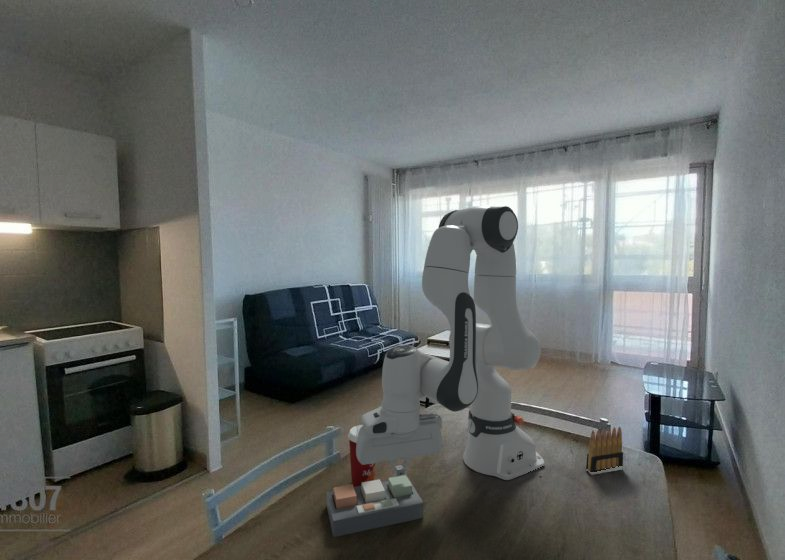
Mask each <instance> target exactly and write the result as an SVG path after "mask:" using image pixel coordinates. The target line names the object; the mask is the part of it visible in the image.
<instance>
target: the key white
mask: <svg viewBox="0 0 785 560" xmlns="http://www.w3.org/2000/svg"><path fill="white" fill-rule="evenodd" d="M381 482H382V481H381V479H374V480H373V481H368V482H362V483H361V493H362V495H363V498H364V501H365V503H370V502H375V501H380V500H385V490H384V487H383V485H382V483H381Z"/></svg>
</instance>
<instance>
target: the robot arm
mask: <svg viewBox="0 0 785 560" xmlns="http://www.w3.org/2000/svg"><path fill="white" fill-rule="evenodd" d="M518 221H519V220H518V218H517V215H516V213H515V212H514V211H513V209H512V208H511V207H510V206H507V205H502V204H491V205H476V206H471V207H468V208H463V209H454V210H453V211H449V212H447V213H446V214H445V215H444V216H443V217H442V218H441V220H440V221H439V224H438V228H437V229H435V230H434V232H433V233H432V236H431V238H430V241H429V245H428V248H427V249H426V255H425V258H424V264H423V270H422V276H421V277H422V278H421V288H422V289H421V290H422V292H423V294H424V296H425V298H426V299H427V300H428V301H429V302H430V303H431V304H432V306H434V307H435V308H437V309H438V310H439V311H440V312H441V313H442V314H443V315H444V316H445V318H446V319H447V321H448V324H449V328H450V329H449V330H450V331H449V332H450V333H449V336H448V344H449V361H448V360H446V359H442V358H440V357H437V356H434V355H432V354H431V355H430V354H427V353H424V352H422V351H420V350H419V349H418V348H417V347H416V346H413V345H410V344H404V345H397V346H396V345H395V346H394V347H392V348H390V349H388V350H387V352H386V353H385V355H384V359H383V362H382V371H381V375H382V376H381V388H382V391H383V397H382V400H381V405H380V406H379V407H377V408H375V409H372V410H370V411H368V412H365V413H364V414H362V415H361V419H360V420H361V425H363V426H362V427H361V428H360V430H359V432H358V437H357V445H356V456H357V459H358V461H359V462H360V463H361V464H362V465H365V464H372V463H375V464H377V463H383V462H384V463H385V462H388V463H389V464H390V466H391V468H392V477H399V476H404V475H406V476H408V475H407V472H408V471H407V470H408V468H409V466H410V465H411V463H412V458H416V457H423V456H429V455H435V454H436V455H437V454H439V453H441V451H442V449H443V437H442V431H441V429H442V426H443V425H442V423H443V420H442V416H441V415H439V414H437V413H436V412H431V413H421V403H420V402H421V401H420V400H421V399H422V398H423V397H424V398H426V399H430V400H431V401H434V402H436V403H438V404H439V405H441V406H442V407H444V408H446V409H447V410H449V411H451V412H460V411H462V410H465V409H466V408H468V407H469V406H470V408H469V409H468V418H467V419H468V421H467V424H468V425H467V427H468V428H467V430H468V435H467V441H466V447H465V450H464V452H463V456H462V460H463V462H464V464H465V465H466V466H467V467H469V469H472V470H473V471H475V472H477V473H479V474H483V475H487V476H493V477H496V478H499V479H501V480H504V481H510V480H513V479H515V478H518V477H520V476H523V475H525V474H528V472H529V473H531V472H534V471H536V470H538V469H537V468H539V469H541V468H540V467H542V466H544V465H546V464H545V460H544V458H543V457H542V456H541V455H540V454H539V452H537V449H536V444H535V442H534V441H533V439H532V437H531V436H529V435H528V434H527V433H526V432H525V431H523V430H522V429H521V428H520V427H519V426H517V425H520V426H521V425H523V424H524V421H525V420H524V418H523V417H521V416H520V415H515V413H513V412H512V389H511V385H510V384H509V382H508V381H507V380H505V379H504V378H503V377H502V376H501V375H500V374H499V372H498V371H497V369H496V368H495V367H498V368H503V369H507V370H516V371H517V370H518V371H529V370H532V369H533V368H534V367H535V366H536V365H537V363H538V362H539V361H540V358H541V354H542V348H541V343H540V340H539V339H538V337H537V336H536V335H535V334H534V333H533V332H532V331H531V330H530V329H529V328H528V327H527V325H526V324H525V323H524V321H523V319H522V317H521V316H520V313H519V310H518V306H517V260H516V259H517V257H516V252H515V250H516V249H515V245H514V244H515V243H514V242H515V240H516V238H517V236H518V231H519V222H518ZM473 251H474V252H475V255H476V258H475V265H474V282H473V297H472V296H471V295H470V289H469V273H470V267H471V266H470V265H471V253H472V252H473ZM476 307H477V308H478V309H479V310H480V311H482V312H484V313H485V314H486V315H487V317H488V319H489V320H490V324H487V323H480V322H477V313H476ZM403 459H404V460H403ZM397 460H403V461H402V463H401V464H400V465H396V464H397ZM544 467H545V466H544ZM542 468H543V467H542ZM535 469H536V470H535ZM533 470H534V471H533ZM530 471H531V472H530Z"/></svg>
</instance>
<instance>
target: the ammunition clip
mask: <svg viewBox="0 0 785 560" xmlns="http://www.w3.org/2000/svg"><path fill="white" fill-rule="evenodd" d="M594 430H595V429H593V430H592V431H591V433H590V437H589V439H590V440H589V444H588V453H587V454H586V455H587V456H586V466H585V470H586V469H588V470H589V471H590V472H597V471H601V470H606V469H610V468H611V467H612V468H615V467H616V466H618V467H619V466H623V467H624V452H623V436H622V435H623V434H622V433H623V432H622V428H621V426H619V427H618V428H617V429H616V427H613V428H612V431H611V428H610V427H609V428H607V431H606V429H605V428H603V429H602V430H601V432H600V429H596V430H597V431H596V433H595V431H594ZM605 468H606V469H605Z"/></svg>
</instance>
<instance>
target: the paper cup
mask: <svg viewBox="0 0 785 560" xmlns="http://www.w3.org/2000/svg"><path fill="white" fill-rule="evenodd" d="M362 426H363V425H362V424H359V425H355V426H353V427H351V428H350V430H349V433H348V435H347V438H348V439H349V440H348V441H349V460H350V461H349V462H350V475H351V477H350V478H351V484H353V487H356V486H361V483H362V482H368V481H373V480H375V476H376V474H375V473H376V463H372V464H365V465H362V464H361V463H360V462H359V461H358V459H357V456H356V445H357V437H358V432H359V430H360V428H361V427H362Z"/></svg>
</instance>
